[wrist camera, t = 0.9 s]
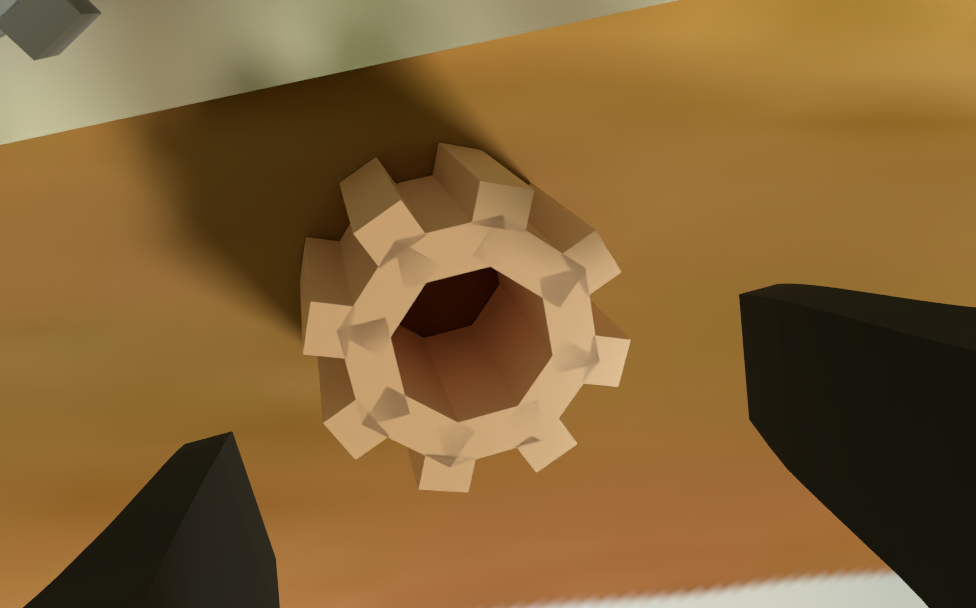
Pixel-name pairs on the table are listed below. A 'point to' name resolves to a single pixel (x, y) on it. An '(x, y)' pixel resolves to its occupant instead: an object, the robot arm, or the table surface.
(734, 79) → the table surface
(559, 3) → the gear board
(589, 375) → the loose gear
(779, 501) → the table surface
